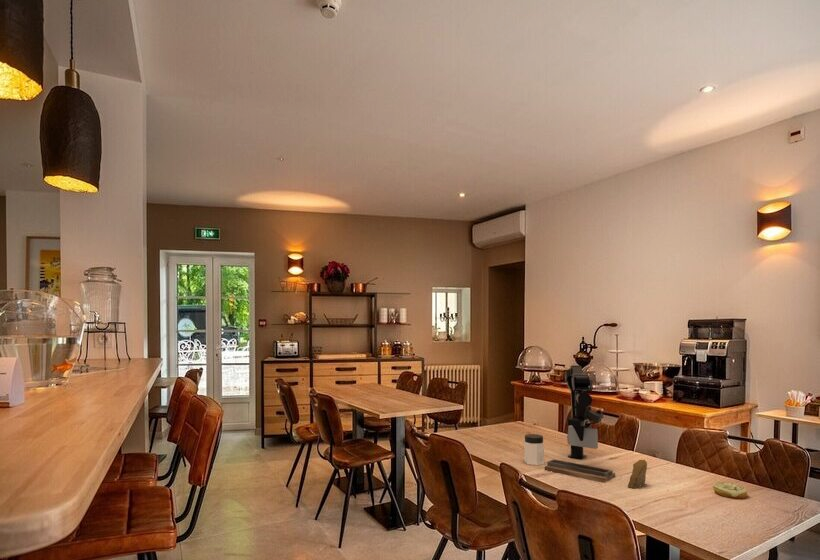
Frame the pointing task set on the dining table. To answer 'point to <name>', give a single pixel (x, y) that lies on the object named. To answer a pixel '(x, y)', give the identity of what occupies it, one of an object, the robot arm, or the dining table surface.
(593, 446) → the door panel
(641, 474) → the rock
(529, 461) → the jar
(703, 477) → the dining table surface
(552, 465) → the track board
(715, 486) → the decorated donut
